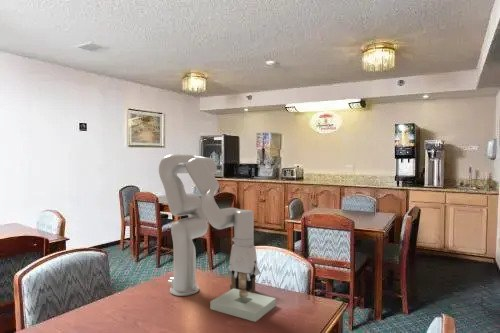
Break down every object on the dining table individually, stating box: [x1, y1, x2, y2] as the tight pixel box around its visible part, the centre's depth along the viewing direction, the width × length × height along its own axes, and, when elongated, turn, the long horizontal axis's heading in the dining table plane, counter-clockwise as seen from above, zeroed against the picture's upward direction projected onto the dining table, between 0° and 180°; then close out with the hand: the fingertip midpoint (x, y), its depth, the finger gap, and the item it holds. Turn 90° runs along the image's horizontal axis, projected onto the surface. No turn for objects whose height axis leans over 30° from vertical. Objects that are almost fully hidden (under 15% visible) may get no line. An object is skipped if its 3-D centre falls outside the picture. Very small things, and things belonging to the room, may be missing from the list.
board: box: [210, 288, 277, 323], centre depth 135 cm, size 20×16×3 cm
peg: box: [238, 272, 248, 297], centre depth 135 cm, size 4×4×10 cm
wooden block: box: [229, 271, 256, 294], centre depth 152 cm, size 4×11×18 cm, turn 84°
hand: (243, 288), depth 135 cm, fingers closed on peg, 4 cm apart
